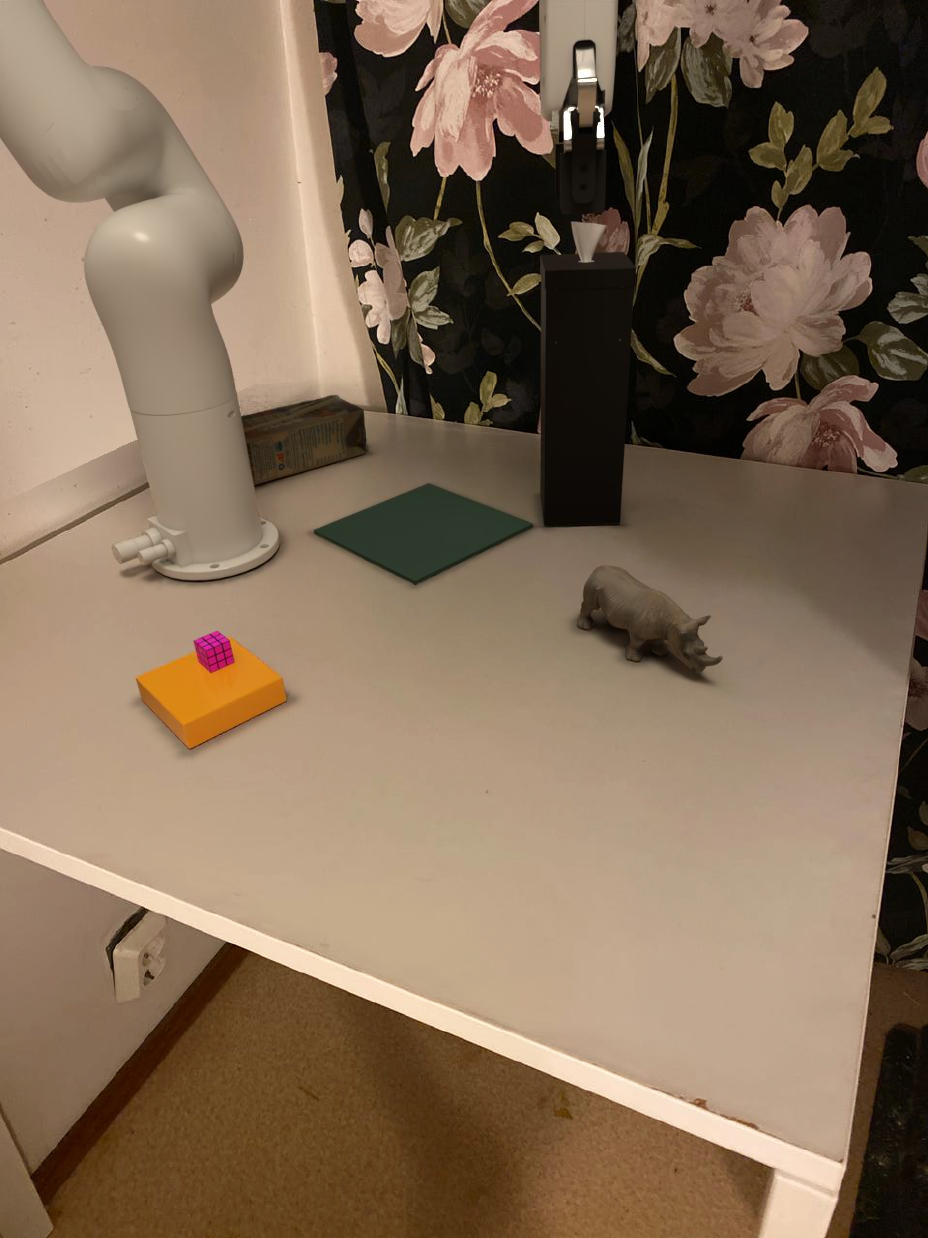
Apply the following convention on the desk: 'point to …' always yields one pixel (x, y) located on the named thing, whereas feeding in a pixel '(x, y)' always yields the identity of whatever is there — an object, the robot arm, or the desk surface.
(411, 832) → the desk surface
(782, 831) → the desk surface
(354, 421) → the beverage carton
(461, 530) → the mat
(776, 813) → the desk surface
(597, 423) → the tissue box
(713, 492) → the desk surface
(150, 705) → the orange block
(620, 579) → the rhino figurine
